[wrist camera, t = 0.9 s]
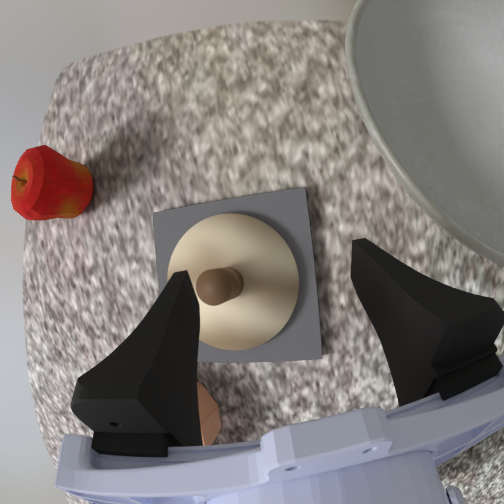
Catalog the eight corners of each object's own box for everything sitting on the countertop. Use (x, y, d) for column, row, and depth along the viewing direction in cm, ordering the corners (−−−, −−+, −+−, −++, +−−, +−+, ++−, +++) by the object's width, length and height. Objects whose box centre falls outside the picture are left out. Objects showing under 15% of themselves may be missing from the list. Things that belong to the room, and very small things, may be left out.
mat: (322, 355, 29) (322, 358, 28) (173, 358, 33) (169, 361, 32) (305, 189, 29) (304, 187, 28) (157, 214, 33) (152, 212, 32)
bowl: (226, 454, 31) (211, 477, 26) (148, 442, 34) (128, 460, 29) (212, 372, 31) (193, 390, 27) (130, 367, 34) (105, 380, 29)
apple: (66, 163, 37) (2, 144, 26) (108, 158, 35) (39, 132, 24) (58, 224, 37) (-9, 217, 26) (99, 226, 35) (25, 218, 24)
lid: (305, 344, 28) (299, 361, 24) (179, 348, 31) (156, 361, 27) (290, 205, 29) (282, 195, 24) (165, 224, 32) (139, 220, 27)
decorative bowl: (575, 159, 20) (631, 134, 9) (469, 322, 25) (531, 356, 13) (428, 8, 25) (445, -56, 13) (288, 129, 30) (262, 63, 18)
